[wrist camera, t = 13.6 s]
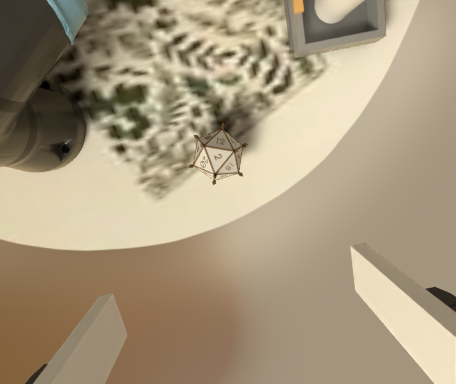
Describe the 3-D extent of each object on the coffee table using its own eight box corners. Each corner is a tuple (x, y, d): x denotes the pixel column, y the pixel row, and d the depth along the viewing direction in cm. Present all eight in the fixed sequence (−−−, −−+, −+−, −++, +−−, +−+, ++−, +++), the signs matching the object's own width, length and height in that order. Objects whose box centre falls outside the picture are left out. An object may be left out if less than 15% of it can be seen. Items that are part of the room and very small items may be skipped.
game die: (221, 162, 48) (215, 205, 41) (185, 134, 44) (171, 177, 37) (259, 136, 42) (258, 180, 36) (221, 101, 38) (212, 144, 32)
